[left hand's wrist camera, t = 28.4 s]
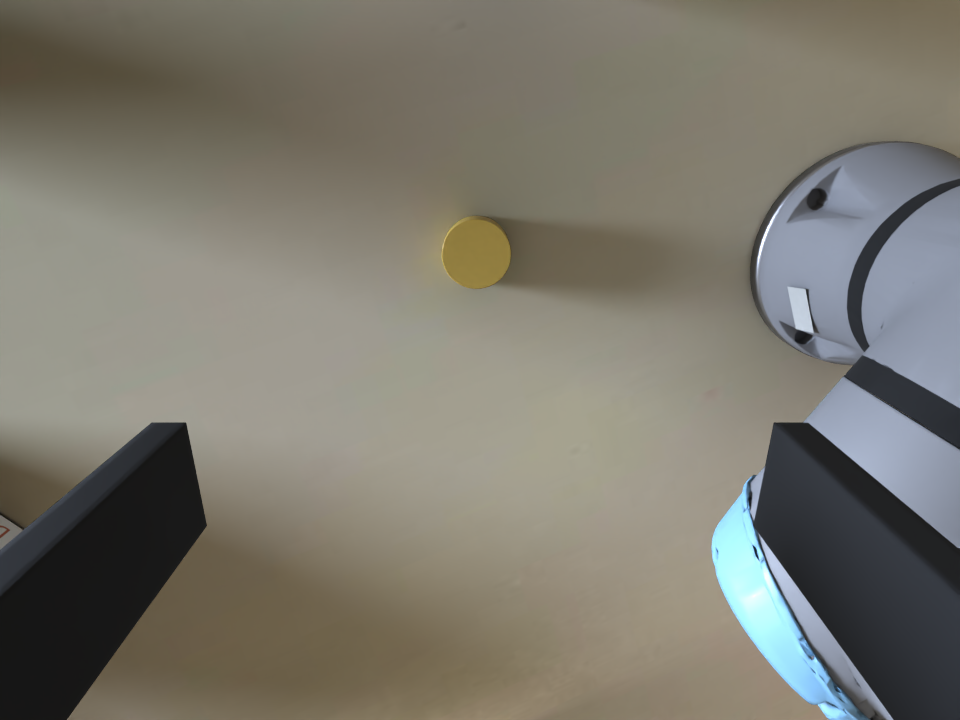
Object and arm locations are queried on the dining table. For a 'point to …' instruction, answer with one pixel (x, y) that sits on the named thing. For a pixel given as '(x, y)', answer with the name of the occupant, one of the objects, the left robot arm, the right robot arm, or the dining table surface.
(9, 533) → the white cardboard box
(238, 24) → the dining table surface
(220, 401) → the dining table surface
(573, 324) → the dining table surface
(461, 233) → the lid
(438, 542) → the dining table surface
